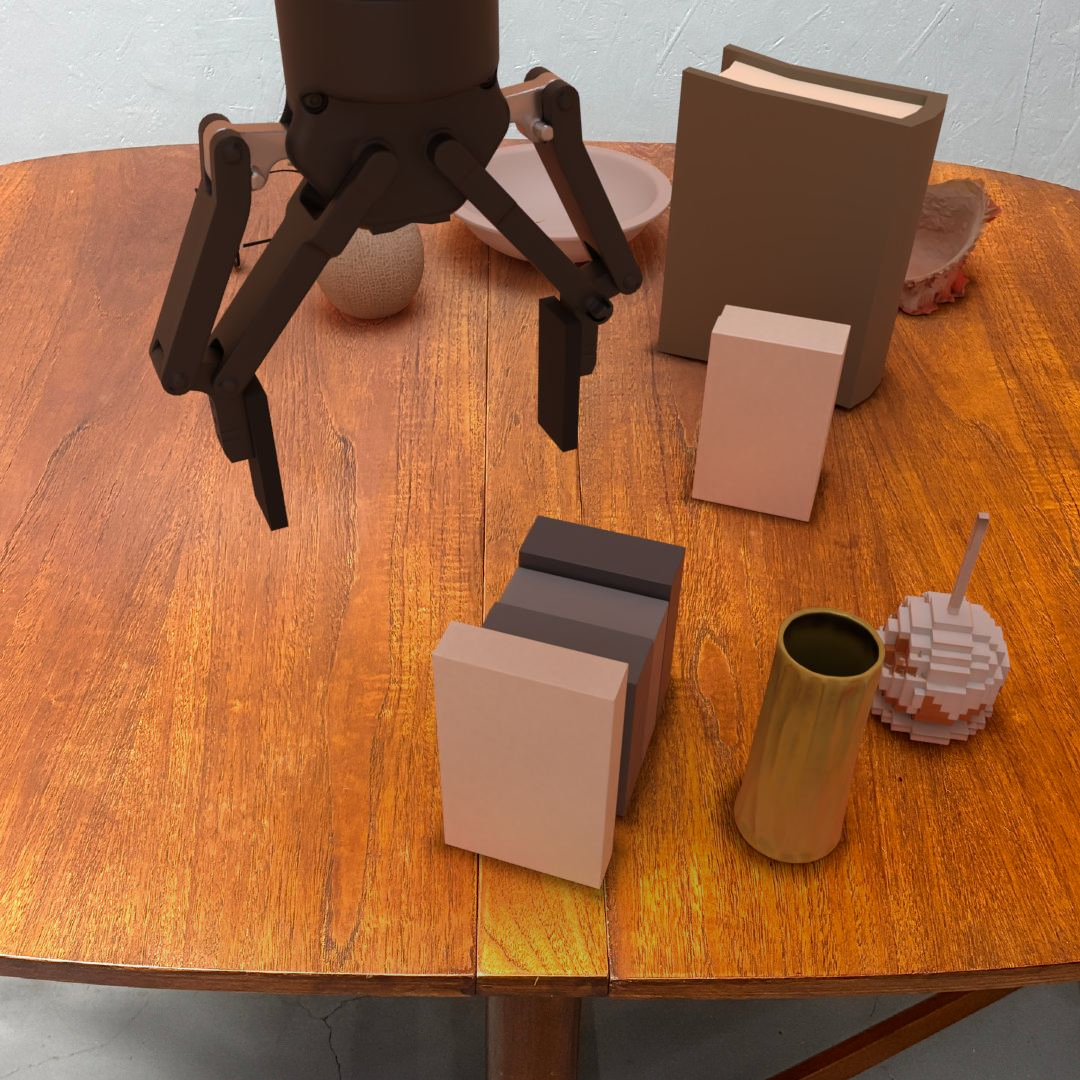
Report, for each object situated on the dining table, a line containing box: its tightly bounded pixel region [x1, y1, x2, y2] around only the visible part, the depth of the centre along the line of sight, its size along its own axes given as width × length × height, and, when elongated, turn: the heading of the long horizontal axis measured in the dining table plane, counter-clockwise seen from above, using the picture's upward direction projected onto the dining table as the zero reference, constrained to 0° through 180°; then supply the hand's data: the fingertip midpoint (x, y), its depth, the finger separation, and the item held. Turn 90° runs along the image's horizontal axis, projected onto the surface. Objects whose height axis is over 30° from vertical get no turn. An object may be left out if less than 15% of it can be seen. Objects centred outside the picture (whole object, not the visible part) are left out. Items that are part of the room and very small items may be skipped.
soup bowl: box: [452, 142, 672, 264], centre depth 120 cm, size 24×24×7 cm
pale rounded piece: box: [871, 511, 1011, 746], centre depth 68 cm, size 8×8×15 cm
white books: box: [691, 305, 851, 522], centre depth 85 cm, size 6×9×14 cm
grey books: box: [480, 514, 687, 817], centre depth 67 cm, size 11×9×12 cm
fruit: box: [287, 161, 425, 320], centre depth 106 cm, size 10×12×15 cm
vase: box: [733, 606, 885, 864], centre depth 61 cm, size 6×6×14 cm
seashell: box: [899, 177, 1003, 316], centre depth 114 cm, size 17×11×15 cm
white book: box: [431, 619, 628, 890], centre depth 59 cm, size 2×9×15 cm, turn 72°
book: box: [657, 43, 949, 410], centre depth 96 cm, size 19×8×25 cm, turn 57°
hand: (420, 472), depth 51 cm, fingers open, 13 cm apart
